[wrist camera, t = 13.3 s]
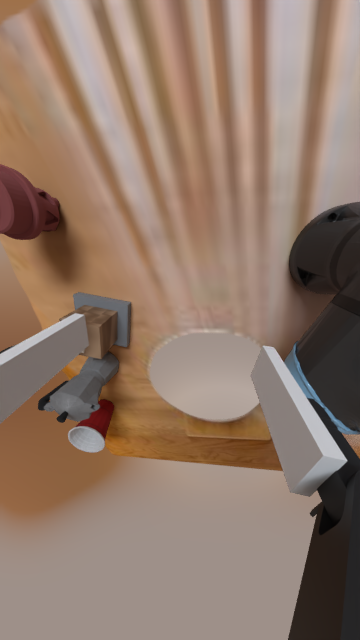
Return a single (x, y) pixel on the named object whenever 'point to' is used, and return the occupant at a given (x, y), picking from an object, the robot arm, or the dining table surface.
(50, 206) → the mechanical component
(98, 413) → the plastic cup
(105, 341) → the cardboard box
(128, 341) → the shaft stand
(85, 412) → the coffeepot
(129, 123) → the dining table surface
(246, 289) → the dining table surface
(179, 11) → the dining table surface
